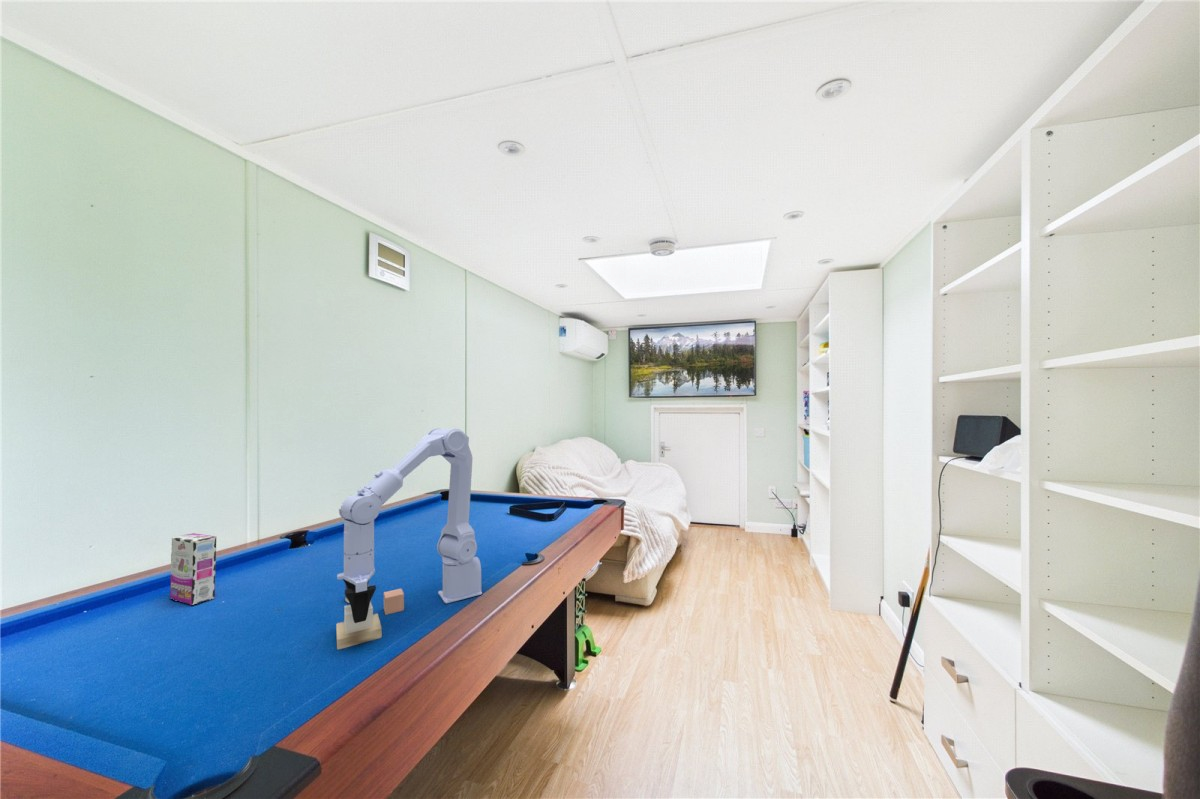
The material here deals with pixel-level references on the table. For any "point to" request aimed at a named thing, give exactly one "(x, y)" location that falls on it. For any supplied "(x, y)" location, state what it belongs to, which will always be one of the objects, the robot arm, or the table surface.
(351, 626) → the cream cube
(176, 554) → the candy bar box
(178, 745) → the table surface
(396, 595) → the terracotta cube
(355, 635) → the oak slab
